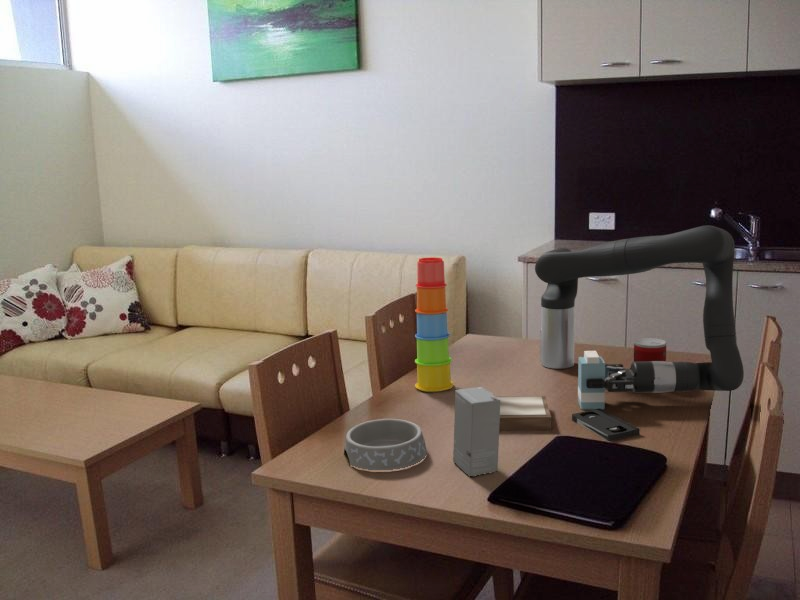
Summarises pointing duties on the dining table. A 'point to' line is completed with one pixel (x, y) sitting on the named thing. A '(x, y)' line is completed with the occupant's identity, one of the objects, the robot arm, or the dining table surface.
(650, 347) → the canned food
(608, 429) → the vhs tape
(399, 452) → the dog bowl
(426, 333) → the stacking cups
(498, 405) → the skincare box
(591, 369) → the carton
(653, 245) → the robot arm
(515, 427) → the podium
